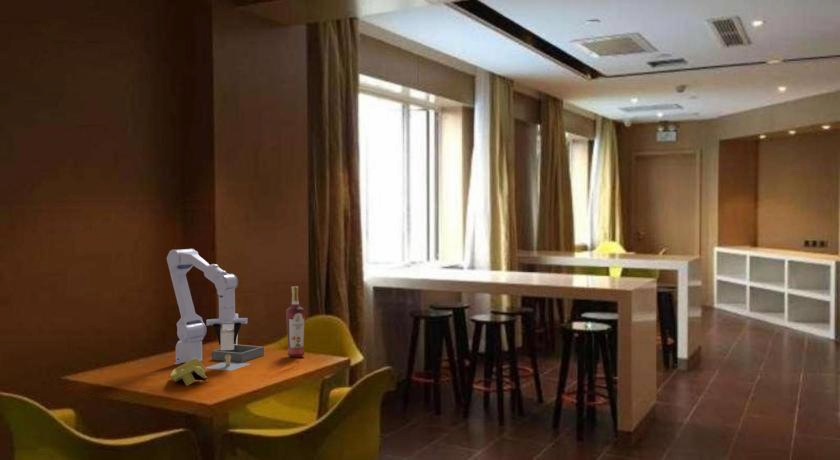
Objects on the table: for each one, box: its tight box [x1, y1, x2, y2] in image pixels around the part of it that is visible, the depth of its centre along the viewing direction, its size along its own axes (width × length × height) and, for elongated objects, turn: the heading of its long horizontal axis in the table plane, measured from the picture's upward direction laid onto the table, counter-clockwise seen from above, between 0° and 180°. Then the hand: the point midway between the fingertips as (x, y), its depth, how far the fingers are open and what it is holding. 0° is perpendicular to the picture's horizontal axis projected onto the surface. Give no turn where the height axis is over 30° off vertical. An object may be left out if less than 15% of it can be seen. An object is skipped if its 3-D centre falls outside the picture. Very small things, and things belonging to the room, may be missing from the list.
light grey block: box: [220, 328, 234, 350], centre depth 262 cm, size 5×5×7 cm
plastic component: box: [169, 358, 208, 387], centre depth 245 cm, size 20×7×10 cm
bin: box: [211, 344, 265, 363], centre depth 278 cm, size 14×14×4 cm
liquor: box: [285, 286, 306, 359], centre depth 282 cm, size 7×7×28 cm
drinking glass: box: [221, 312, 239, 345], centre depth 298 cm, size 7×7×15 cm
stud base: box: [205, 354, 251, 372], centre depth 262 cm, size 12×12×6 cm
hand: (227, 343), depth 262 cm, fingers closed on light grey block, 5 cm apart
